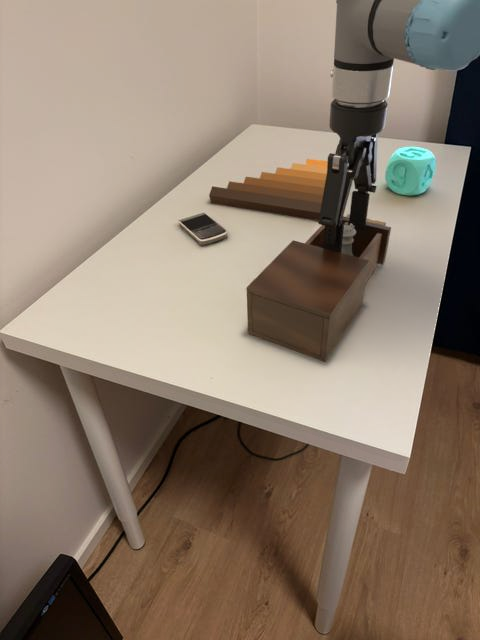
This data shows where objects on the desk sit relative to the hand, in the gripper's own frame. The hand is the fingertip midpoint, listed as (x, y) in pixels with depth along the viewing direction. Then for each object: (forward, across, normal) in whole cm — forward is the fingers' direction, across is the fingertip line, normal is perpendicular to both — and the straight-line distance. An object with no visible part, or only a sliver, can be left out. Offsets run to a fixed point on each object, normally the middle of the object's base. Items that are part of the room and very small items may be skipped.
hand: (344, 243), depth 79 cm
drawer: (+6, -3, 0) cm, 6 cm away
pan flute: (+7, -27, -26) cm, 38 cm away
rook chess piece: (+5, 0, 0) cm, 5 cm away
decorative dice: (+7, -40, -1) cm, 41 cm away
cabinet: (+7, +13, 0) cm, 15 cm away
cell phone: (+7, -2, -30) cm, 31 cm away
